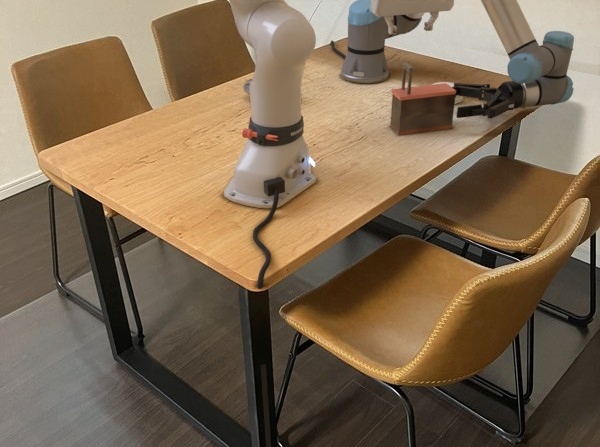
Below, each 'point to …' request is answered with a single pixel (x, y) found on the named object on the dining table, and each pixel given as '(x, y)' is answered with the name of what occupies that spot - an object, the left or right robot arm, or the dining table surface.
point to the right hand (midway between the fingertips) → (445, 103)
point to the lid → (419, 87)
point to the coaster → (457, 98)
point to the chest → (422, 114)
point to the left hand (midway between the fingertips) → (410, 31)
